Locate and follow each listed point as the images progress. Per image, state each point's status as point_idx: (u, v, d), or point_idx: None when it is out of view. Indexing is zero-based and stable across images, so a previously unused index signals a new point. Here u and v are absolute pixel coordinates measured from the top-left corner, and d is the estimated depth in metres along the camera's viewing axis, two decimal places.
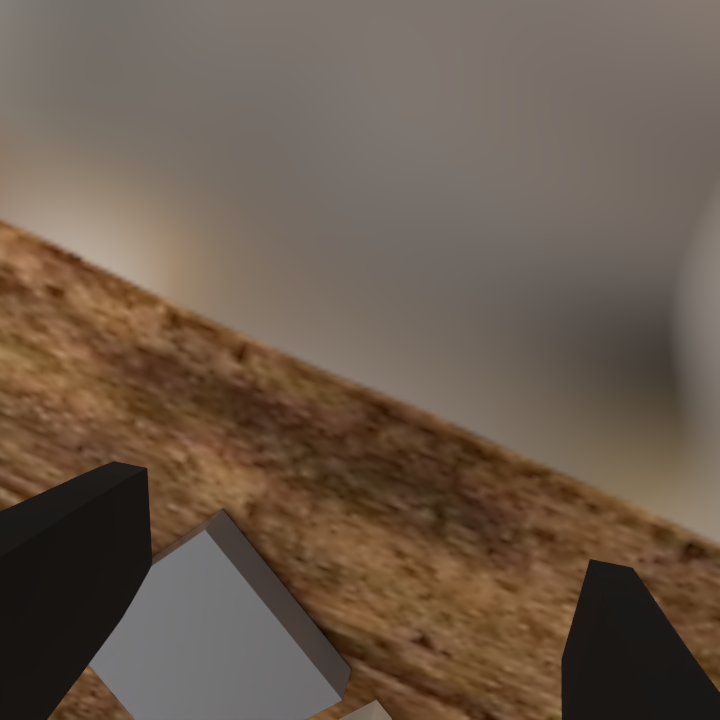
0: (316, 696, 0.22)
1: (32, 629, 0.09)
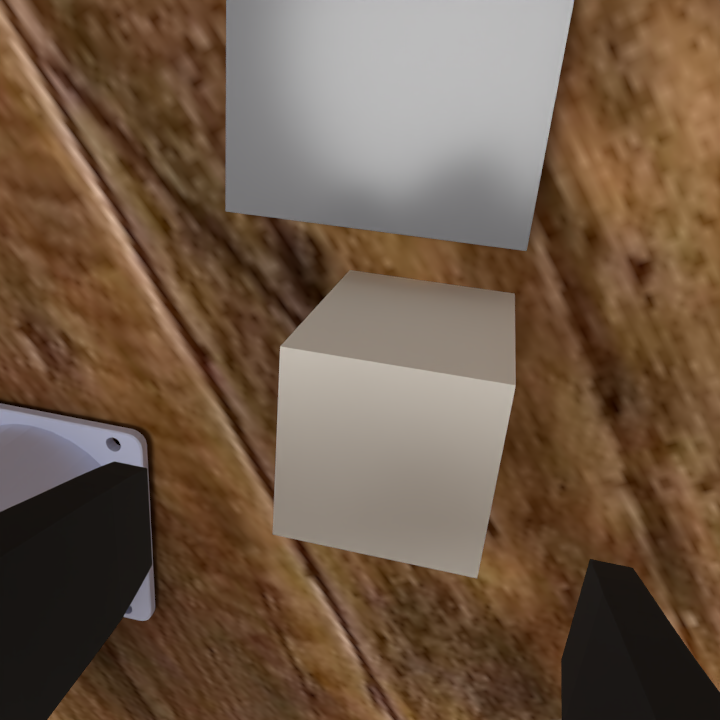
0: (499, 223, 0.15)
1: (32, 629, 0.09)
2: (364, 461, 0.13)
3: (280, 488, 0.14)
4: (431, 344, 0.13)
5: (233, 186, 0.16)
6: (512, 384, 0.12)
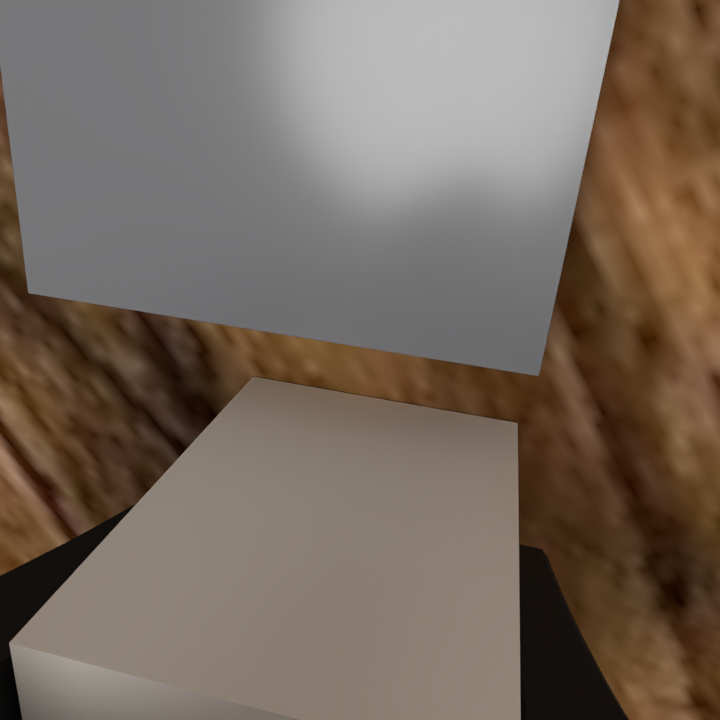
0: (490, 328, 0.08)
1: None
2: None
3: None
4: (349, 605, 0.07)
5: (35, 253, 0.09)
6: None
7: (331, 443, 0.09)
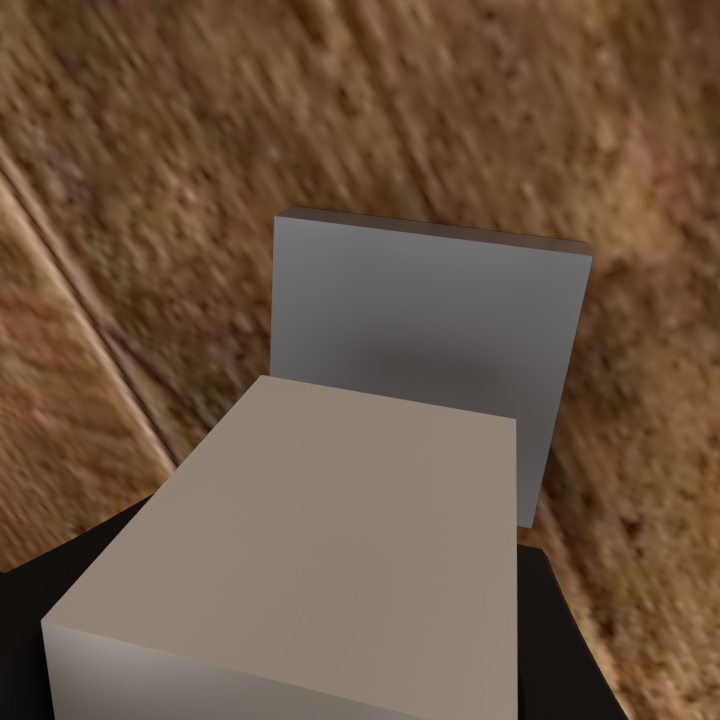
0: None
1: None
2: None
3: None
4: (356, 587, 0.07)
5: None
6: None
7: (337, 438, 0.10)
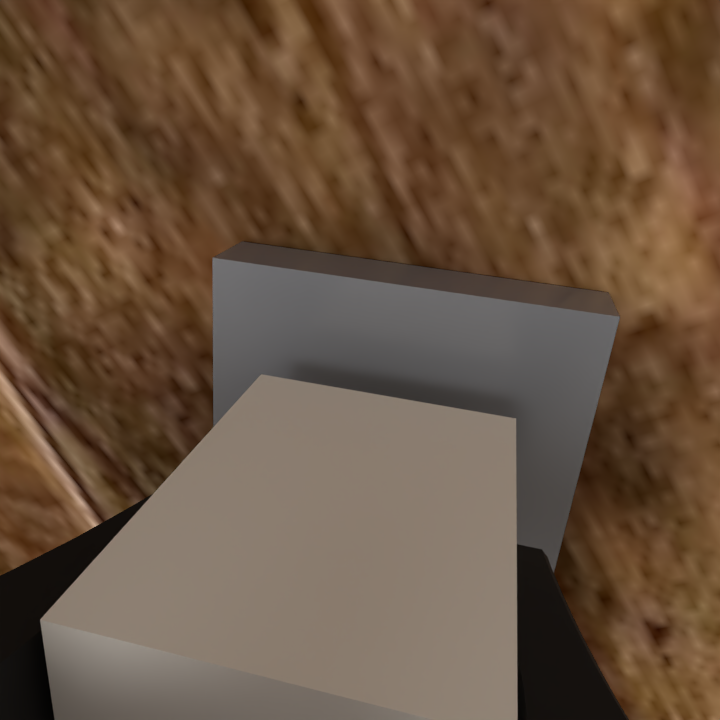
0: None
1: None
2: None
3: None
4: (356, 586, 0.07)
5: None
6: None
7: (337, 437, 0.10)
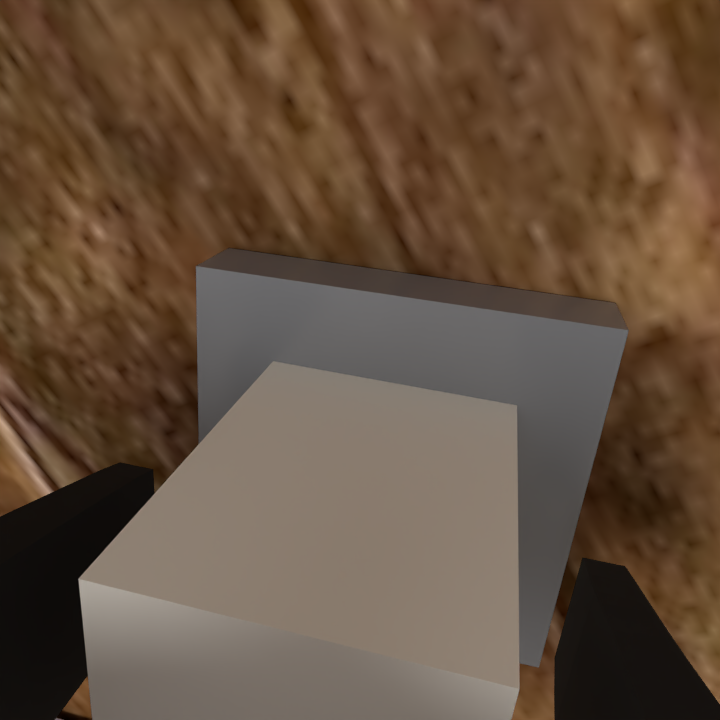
0: None
1: (39, 631, 0.08)
2: None
3: None
4: (368, 553, 0.07)
5: None
6: (512, 684, 0.06)
7: (347, 420, 0.10)
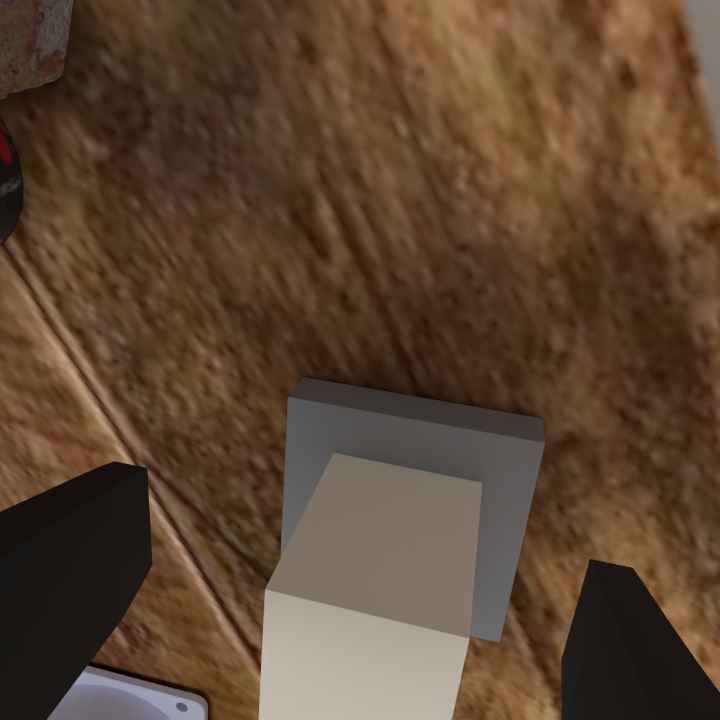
0: (479, 624, 0.21)
1: (32, 629, 0.09)
2: (339, 681, 0.15)
3: (264, 695, 0.16)
4: (399, 576, 0.15)
5: None
6: (466, 637, 0.14)
7: (382, 496, 0.18)
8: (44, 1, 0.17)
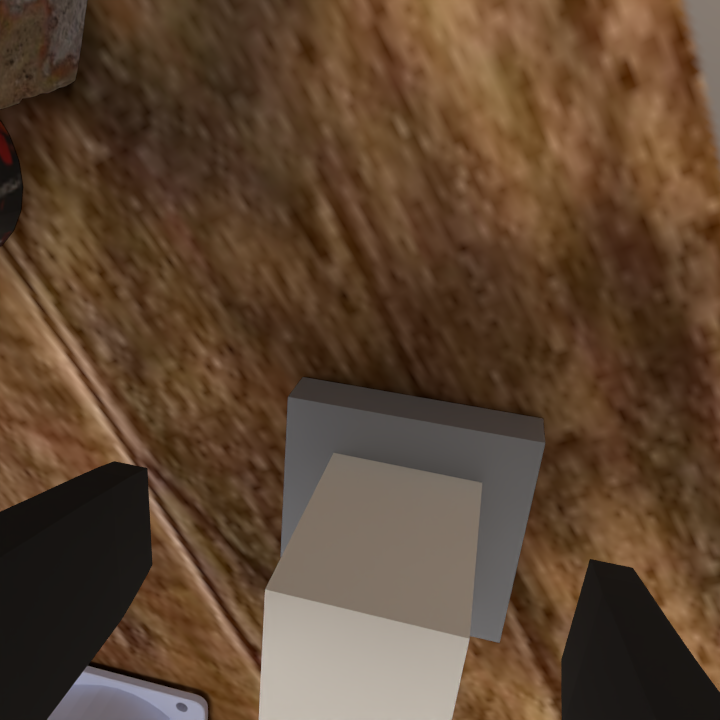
0: (479, 624, 0.21)
1: (32, 629, 0.09)
2: (339, 681, 0.15)
3: (264, 695, 0.16)
4: (399, 576, 0.15)
5: None
6: (466, 637, 0.14)
7: (382, 496, 0.18)
8: (57, 6, 0.17)
